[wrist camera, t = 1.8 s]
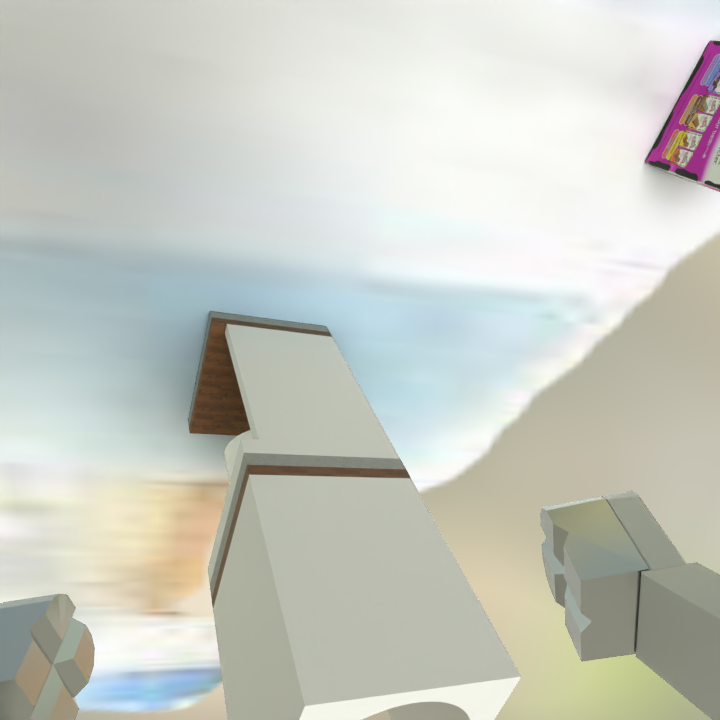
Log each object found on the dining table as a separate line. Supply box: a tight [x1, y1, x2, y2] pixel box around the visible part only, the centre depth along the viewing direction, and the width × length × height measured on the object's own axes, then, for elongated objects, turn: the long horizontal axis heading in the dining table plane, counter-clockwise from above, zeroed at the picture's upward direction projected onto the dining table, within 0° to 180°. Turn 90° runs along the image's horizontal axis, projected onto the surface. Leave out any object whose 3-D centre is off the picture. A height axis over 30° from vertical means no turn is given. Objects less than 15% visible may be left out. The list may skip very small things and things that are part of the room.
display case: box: [188, 311, 521, 720], centre depth 43 cm, size 11×11×35 cm
